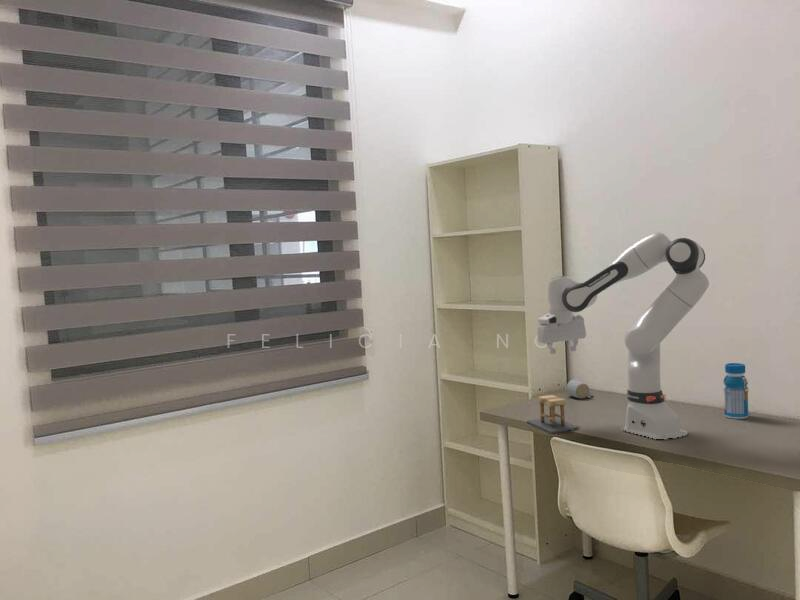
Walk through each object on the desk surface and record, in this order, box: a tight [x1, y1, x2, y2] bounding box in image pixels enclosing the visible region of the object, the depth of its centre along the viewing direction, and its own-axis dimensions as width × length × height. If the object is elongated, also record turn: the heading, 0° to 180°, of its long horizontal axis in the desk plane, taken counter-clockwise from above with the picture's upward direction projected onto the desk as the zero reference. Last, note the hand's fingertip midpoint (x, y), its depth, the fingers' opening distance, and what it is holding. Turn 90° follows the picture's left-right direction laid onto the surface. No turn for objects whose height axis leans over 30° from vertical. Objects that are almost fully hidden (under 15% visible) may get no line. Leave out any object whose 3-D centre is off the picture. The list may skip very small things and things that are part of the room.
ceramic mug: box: [565, 379, 594, 400], centre depth 290 cm, size 11×8×8 cm
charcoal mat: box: [526, 416, 580, 435], centre depth 246 cm, size 18×12×1 cm, turn 18°
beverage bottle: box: [722, 362, 750, 420], centre depth 243 cm, size 8×8×20 cm
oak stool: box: [537, 394, 567, 427], centre depth 246 cm, size 10×6×10 cm, turn 18°
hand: (563, 352), depth 252 cm, fingers open, 8 cm apart
